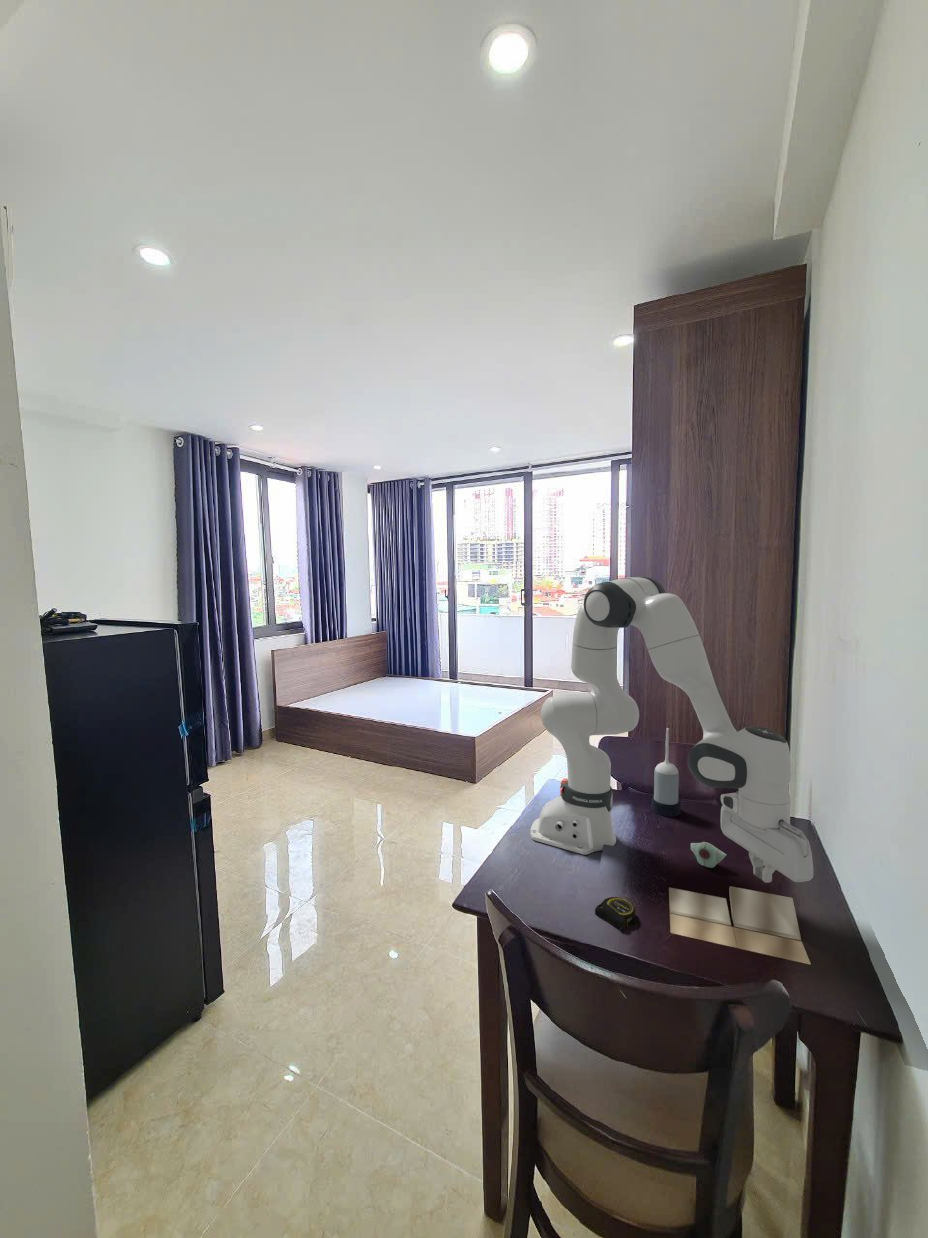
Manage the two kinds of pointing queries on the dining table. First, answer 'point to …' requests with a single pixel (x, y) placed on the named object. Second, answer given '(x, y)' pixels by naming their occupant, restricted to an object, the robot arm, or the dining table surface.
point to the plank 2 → (764, 912)
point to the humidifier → (666, 787)
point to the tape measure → (617, 912)
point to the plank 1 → (699, 906)
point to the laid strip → (739, 938)
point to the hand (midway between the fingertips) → (762, 878)
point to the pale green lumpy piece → (707, 854)
